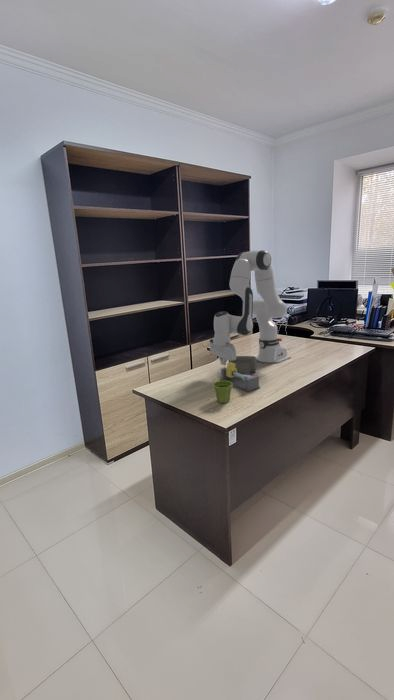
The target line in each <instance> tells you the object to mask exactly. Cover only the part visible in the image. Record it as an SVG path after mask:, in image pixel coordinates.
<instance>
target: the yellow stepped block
mask: <svg viewBox="0 0 394 700" xmlns="http://www.w3.org/2000/svg"><path fill="white" fill-rule="evenodd" d="M226 365H227V368H226V367H225V368H226V376H227V377H230V378H232V377H237V376H235V375H233V374H232V371H234V372H237V368H235V363H232V362H229V361H228V362H226Z"/></svg>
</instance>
